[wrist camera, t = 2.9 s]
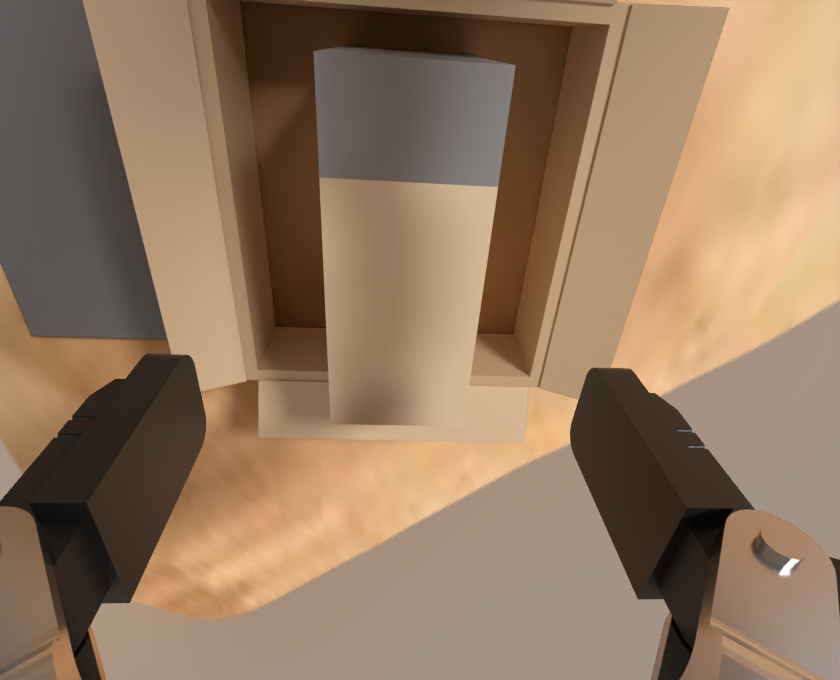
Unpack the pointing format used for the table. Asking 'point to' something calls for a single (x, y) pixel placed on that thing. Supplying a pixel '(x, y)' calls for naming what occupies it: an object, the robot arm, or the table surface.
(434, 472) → the table surface
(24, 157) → the mat
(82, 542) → the robot arm
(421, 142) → the beige and gray box
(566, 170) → the carton
